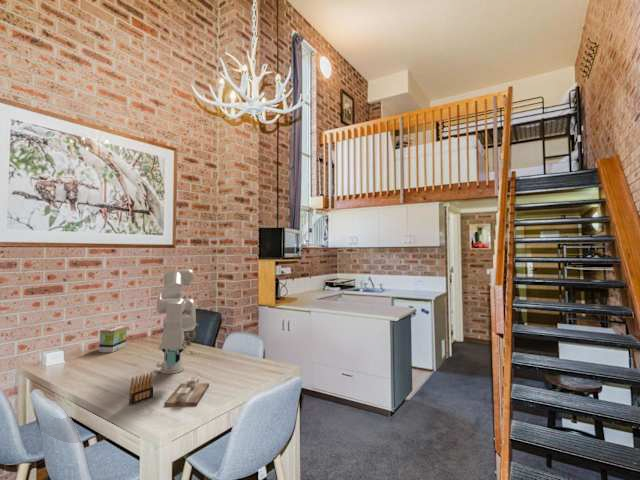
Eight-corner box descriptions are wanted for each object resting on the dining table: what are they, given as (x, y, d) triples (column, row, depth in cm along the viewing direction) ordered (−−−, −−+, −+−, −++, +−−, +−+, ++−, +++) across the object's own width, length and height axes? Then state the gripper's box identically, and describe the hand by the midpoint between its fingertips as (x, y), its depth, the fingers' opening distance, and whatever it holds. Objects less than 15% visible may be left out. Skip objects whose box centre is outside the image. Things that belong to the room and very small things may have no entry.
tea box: (113, 352, 227) (114, 330, 227) (98, 352, 227) (99, 330, 227) (126, 346, 242) (127, 325, 242) (112, 346, 242) (113, 325, 242)
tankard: (167, 343, 250) (168, 323, 250) (177, 339, 262) (177, 320, 263) (192, 345, 247) (193, 324, 247) (201, 341, 259) (201, 321, 260)
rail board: (164, 406, 151) (164, 394, 151) (180, 386, 173) (181, 375, 173) (196, 405, 152) (197, 393, 152) (208, 386, 174) (209, 375, 174)
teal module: (166, 365, 171) (166, 351, 171) (170, 361, 177) (171, 348, 177) (174, 365, 171) (175, 351, 171) (178, 361, 177) (179, 348, 177)
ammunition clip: (151, 396, 161) (152, 370, 161) (153, 397, 160) (154, 371, 160) (128, 404, 152) (129, 377, 152) (130, 405, 151) (131, 378, 151)
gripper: (153, 327, 169) (152, 364, 169) (188, 327, 170) (187, 364, 170) (159, 323, 177) (158, 358, 177) (192, 324, 178) (191, 359, 178)
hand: (172, 361), depth 173 cm, fingers closed on teal module, 4 cm apart
